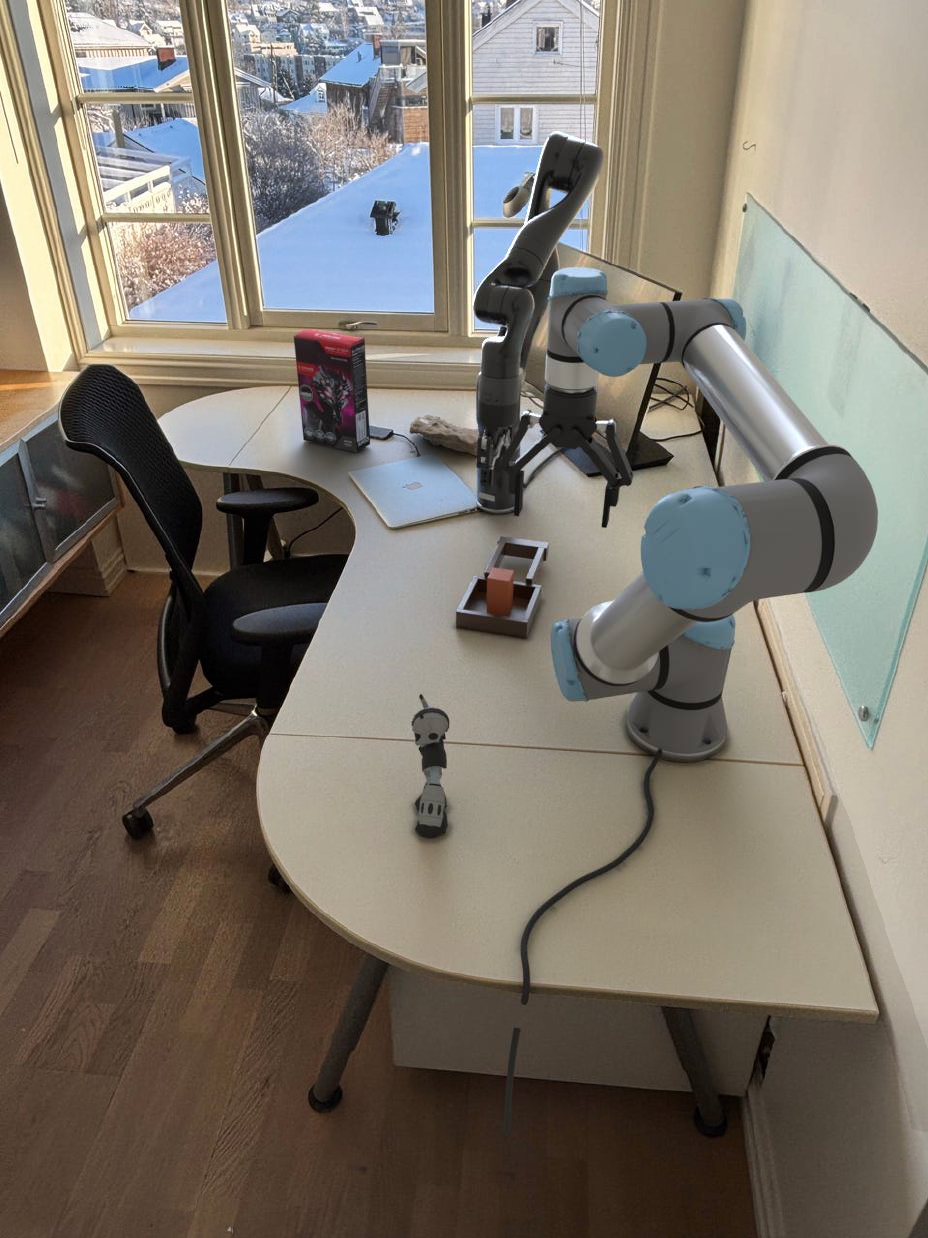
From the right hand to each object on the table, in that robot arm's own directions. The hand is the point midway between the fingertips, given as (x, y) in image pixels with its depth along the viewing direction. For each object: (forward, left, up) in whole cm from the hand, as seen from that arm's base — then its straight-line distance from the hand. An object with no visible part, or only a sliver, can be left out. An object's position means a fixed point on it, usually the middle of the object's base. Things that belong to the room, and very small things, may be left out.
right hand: (561, 518), depth 142 cm
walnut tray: (+19, +12, -28) cm, 36 cm away
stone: (+84, +43, -28) cm, 98 cm away
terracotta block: (+12, +12, -27) cm, 32 cm away
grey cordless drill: (-40, +9, -28) cm, 49 cm away
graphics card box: (+77, +70, -28) cm, 108 cm away
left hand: (+32, +18, -10) cm, 39 cm away
